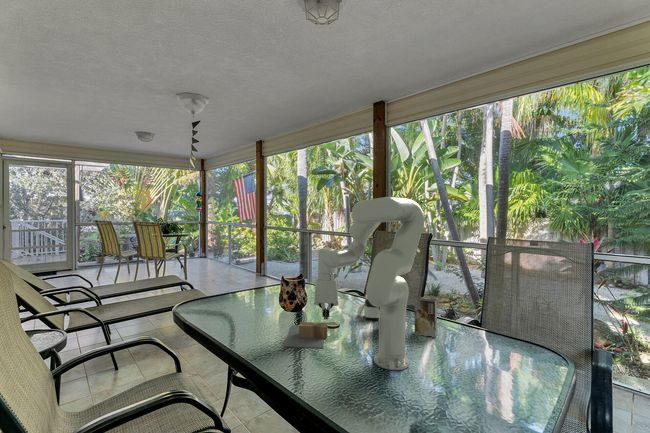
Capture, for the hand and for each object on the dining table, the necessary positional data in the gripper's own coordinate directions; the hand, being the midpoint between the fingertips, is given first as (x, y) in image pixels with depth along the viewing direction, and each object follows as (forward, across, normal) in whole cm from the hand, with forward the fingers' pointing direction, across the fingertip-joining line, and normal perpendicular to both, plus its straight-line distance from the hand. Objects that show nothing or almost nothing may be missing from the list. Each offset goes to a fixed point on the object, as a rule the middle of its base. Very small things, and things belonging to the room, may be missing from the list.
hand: (325, 318), depth 139 cm
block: (+5, -1, 0) cm, 5 cm away
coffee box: (+8, -45, -7) cm, 46 cm away
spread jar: (+8, -21, -28) cm, 36 cm away
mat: (+8, +8, 0) cm, 12 cm away
